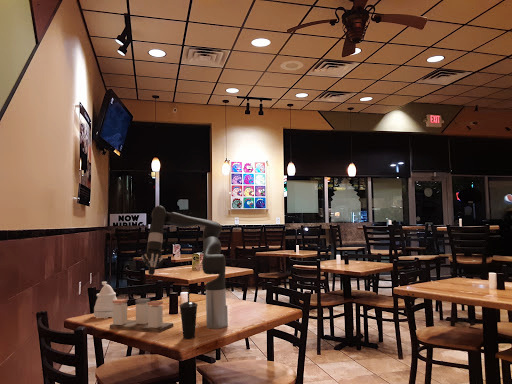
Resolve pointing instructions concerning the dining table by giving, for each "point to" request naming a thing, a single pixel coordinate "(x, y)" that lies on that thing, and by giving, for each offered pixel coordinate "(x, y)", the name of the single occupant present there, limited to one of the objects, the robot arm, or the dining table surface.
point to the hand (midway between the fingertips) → (151, 274)
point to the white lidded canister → (155, 314)
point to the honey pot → (105, 302)
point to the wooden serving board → (141, 326)
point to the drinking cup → (188, 318)
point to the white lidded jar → (142, 311)
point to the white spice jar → (120, 312)
